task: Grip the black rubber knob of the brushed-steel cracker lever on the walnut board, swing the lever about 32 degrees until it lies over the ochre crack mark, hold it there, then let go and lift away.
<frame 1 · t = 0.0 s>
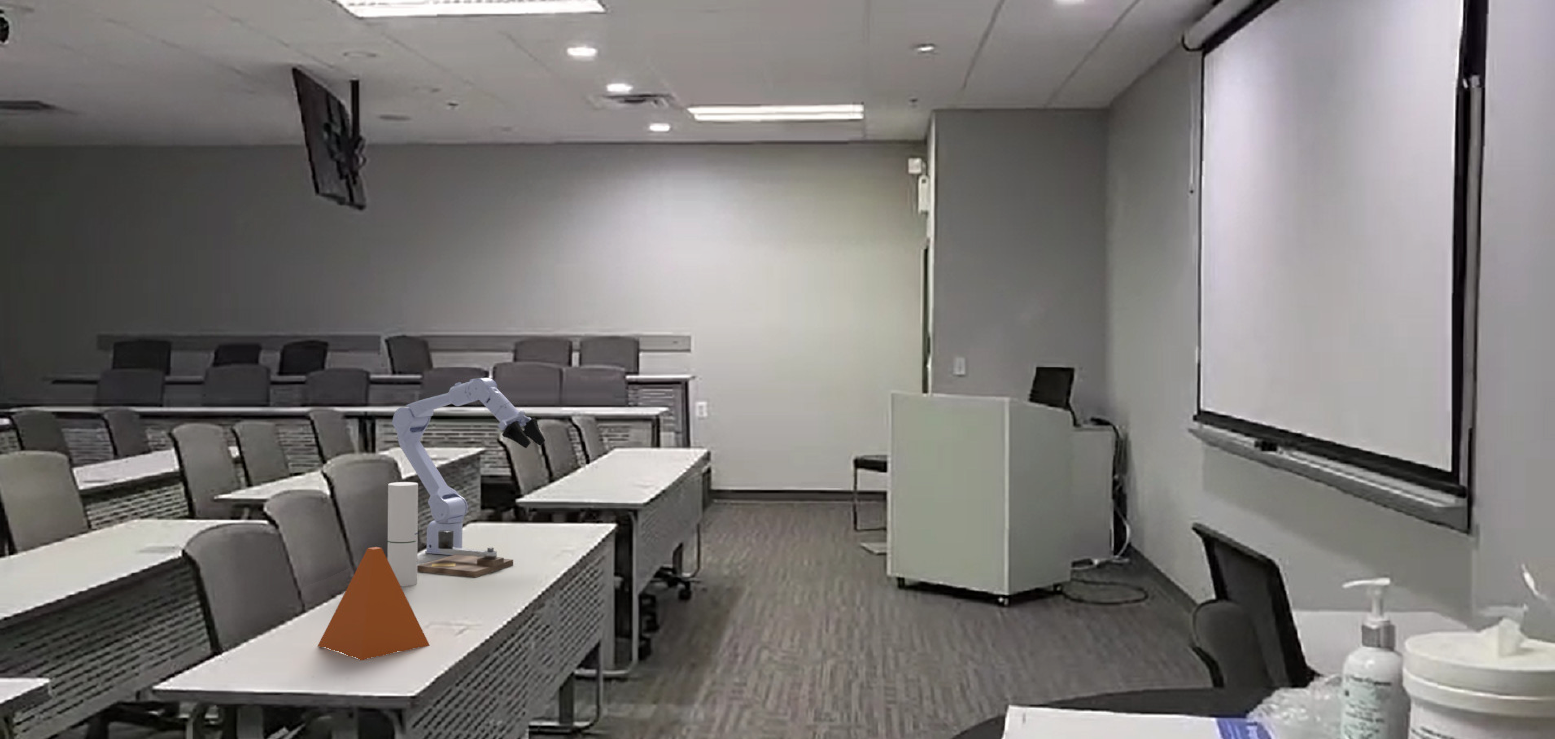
hand: (535, 444, 343), 32 cm above the table, tool tilted 50°, fingers open, 7 cm apart
cracker board: (465, 568, 332), on the table
lever: (467, 544, 333), point 6 cm above the table, hinge at 0.0°
cylindrical container: (402, 584, 312), on the table
pyramid: (373, 647, 252), on the table
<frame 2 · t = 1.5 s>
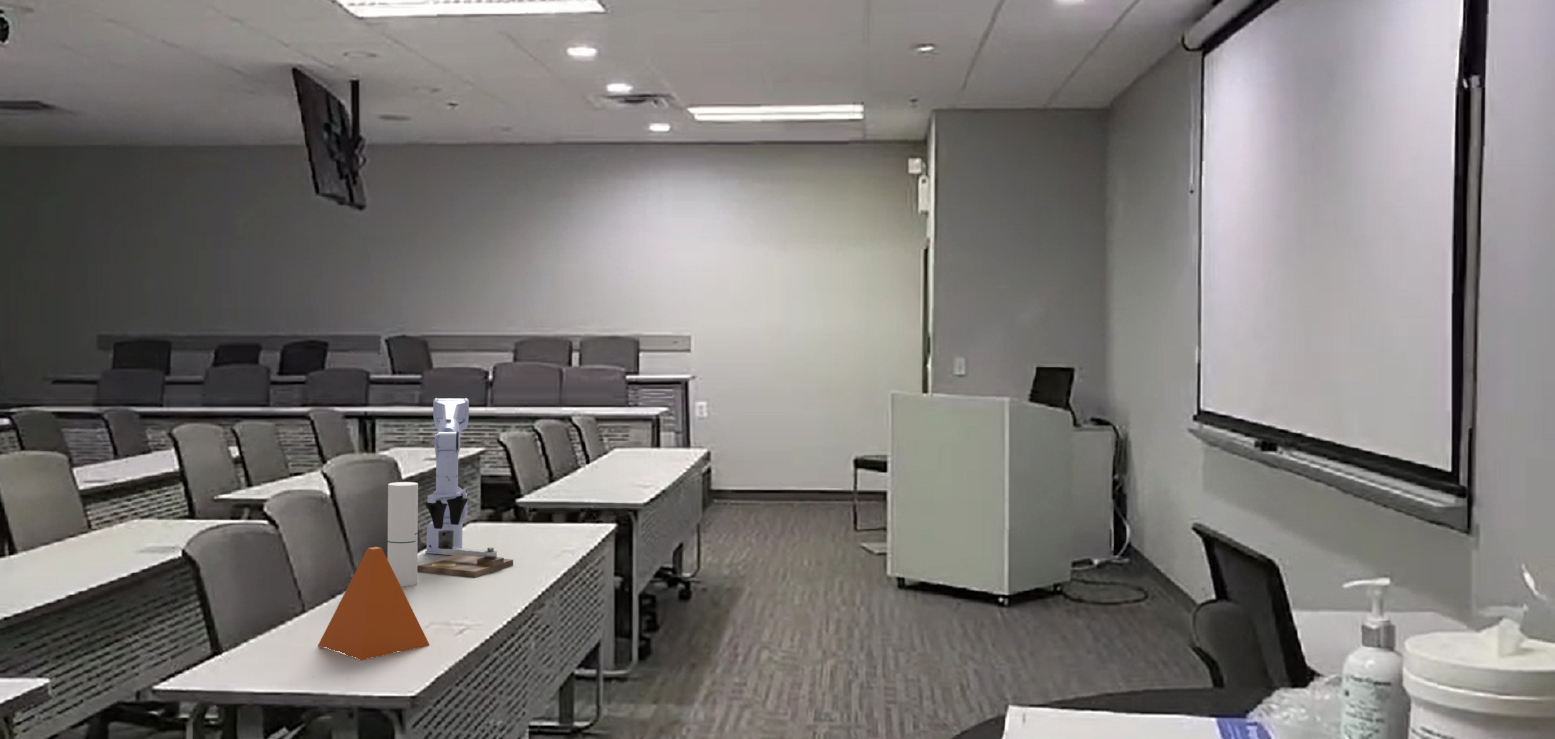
hand: (446, 526, 335), 11 cm above the table, tool pointing down, fingers open, 7 cm apart
nothing on the table moved.
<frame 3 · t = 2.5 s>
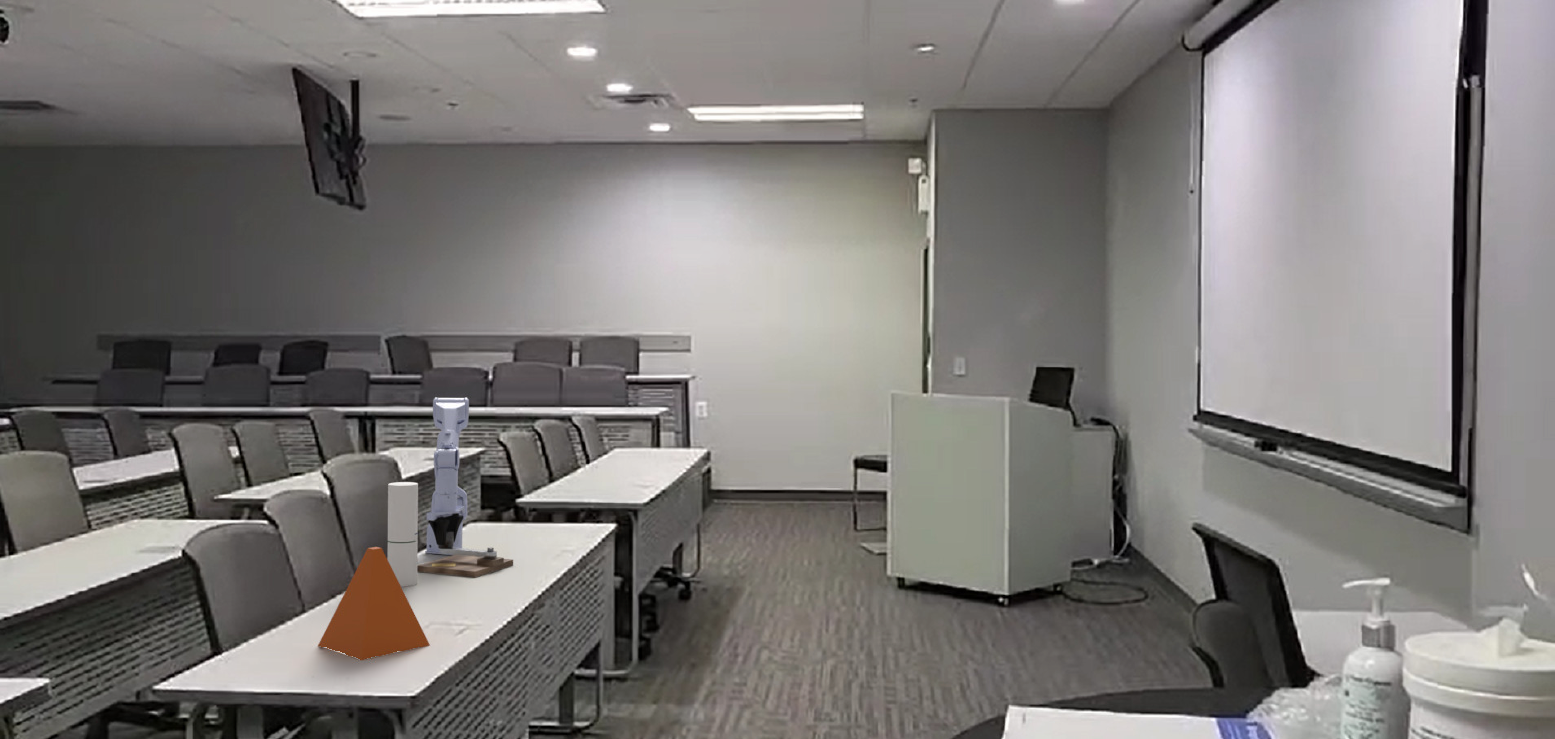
hand: (445, 543, 335), 6 cm above the table, tool pointing down, fingers closed on lever, 4 cm apart
lever: (467, 544, 333), point 6 cm above the table, hinge at 0.0°, touching gripper
everything else where it was.
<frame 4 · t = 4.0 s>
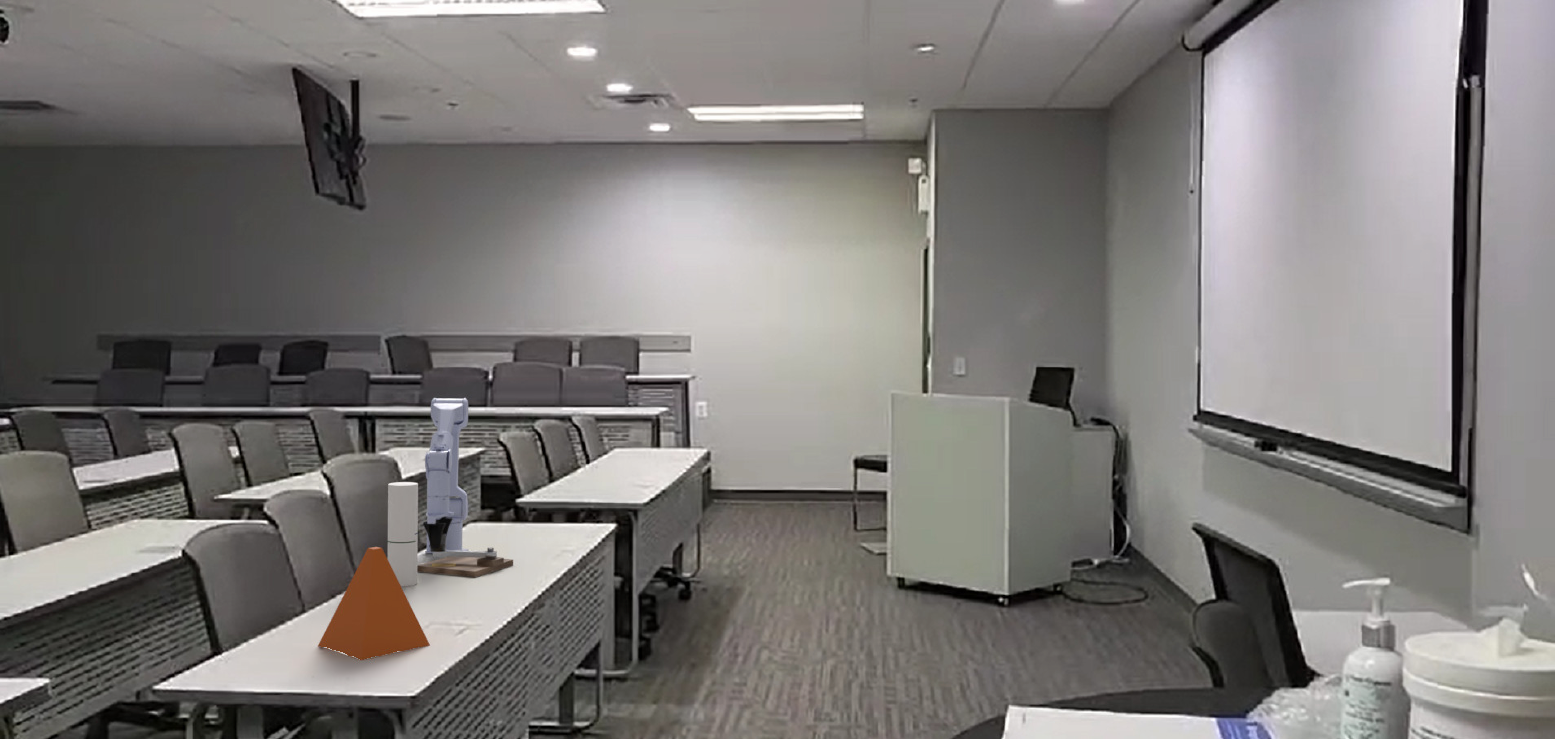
hand: (437, 546, 330), 6 cm above the table, tool pointing down, fingers open, 5 cm apart
lever: (463, 545, 331), point 6 cm above the table, hinge at 18.9°, touching gripper
everything else where it was.
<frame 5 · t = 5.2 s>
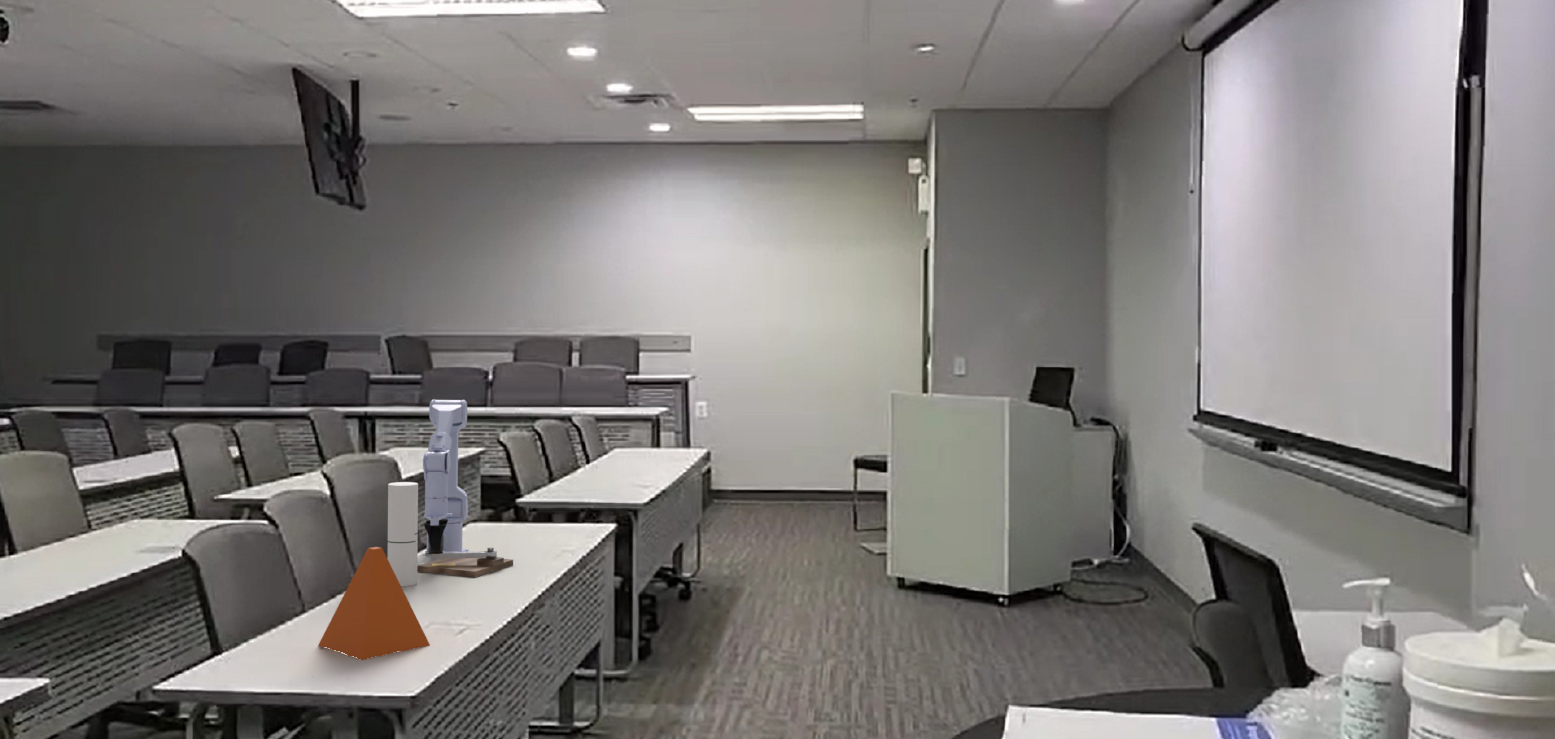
hand: (435, 548, 328), 6 cm above the table, tool pointing down, fingers open, 4 cm apart
lever: (462, 546, 329), point 6 cm above the table, hinge at 31.3°, touching gripper
everything else where it was.
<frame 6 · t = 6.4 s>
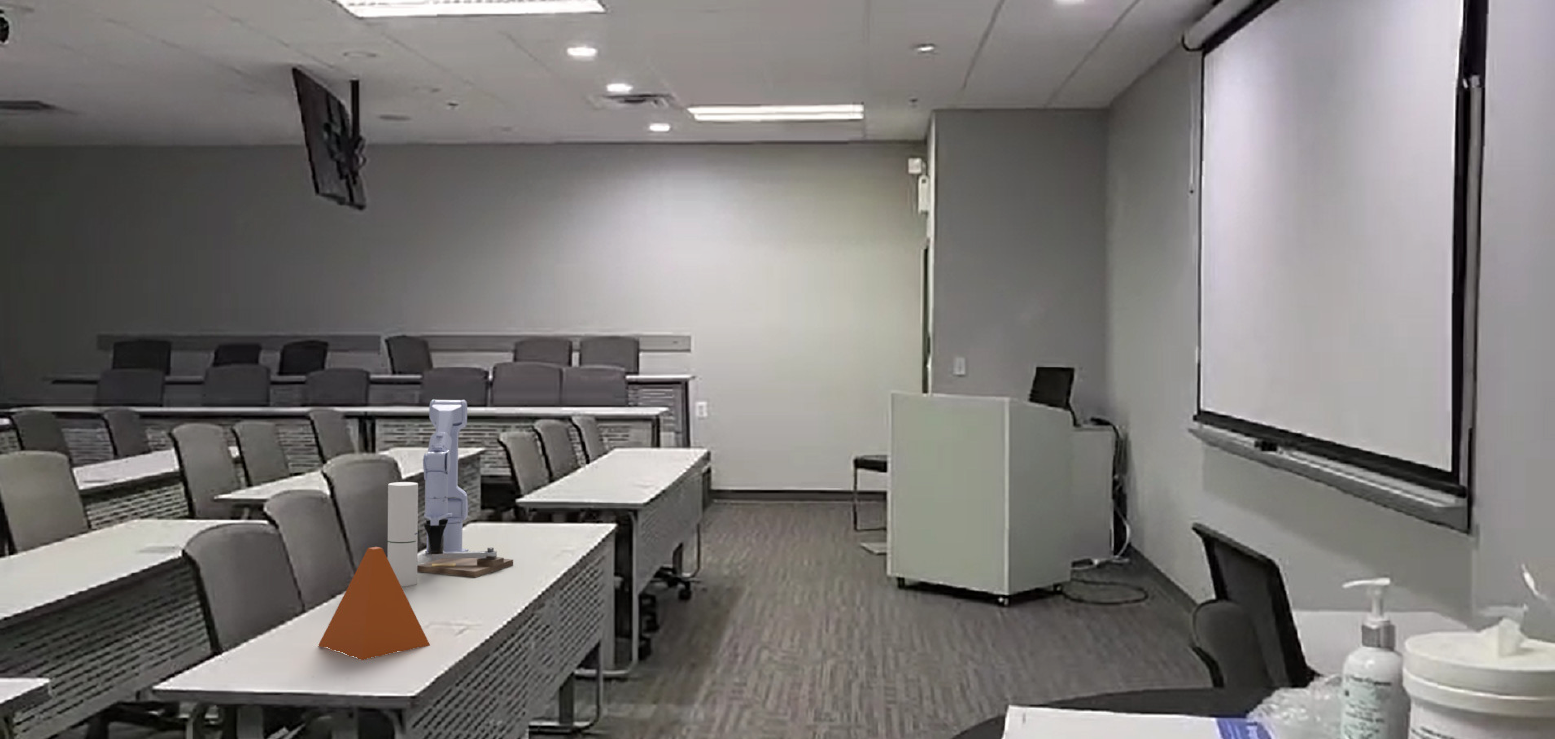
hand: (435, 548, 328), 6 cm above the table, tool pointing down, fingers open, 5 cm apart
lever: (462, 546, 329), point 6 cm above the table, hinge at 32.0°
everything else where it was.
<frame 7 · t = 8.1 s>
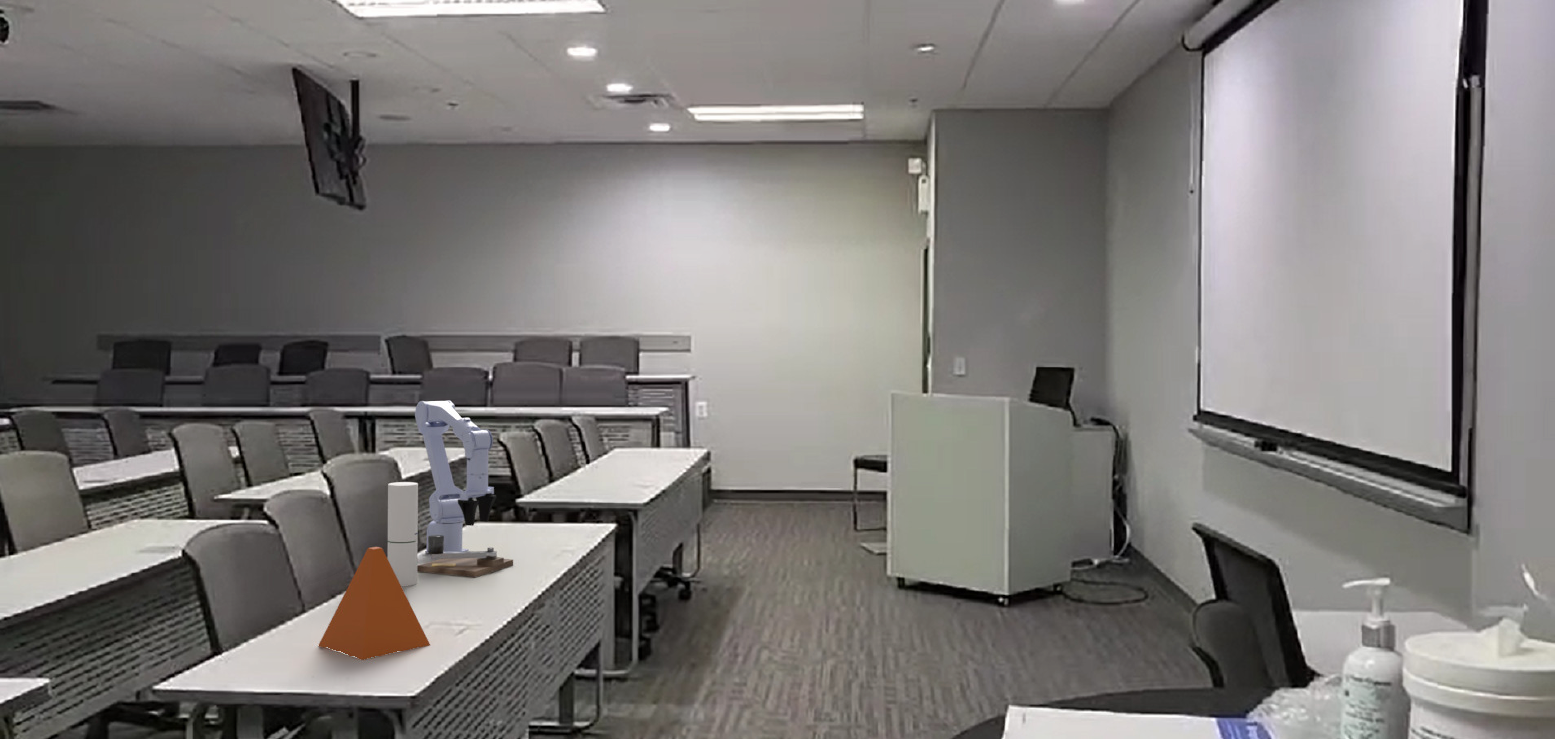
hand: (477, 523, 342), 10 cm above the table, tool pointing down, fingers open, 7 cm apart
nothing on the table moved.
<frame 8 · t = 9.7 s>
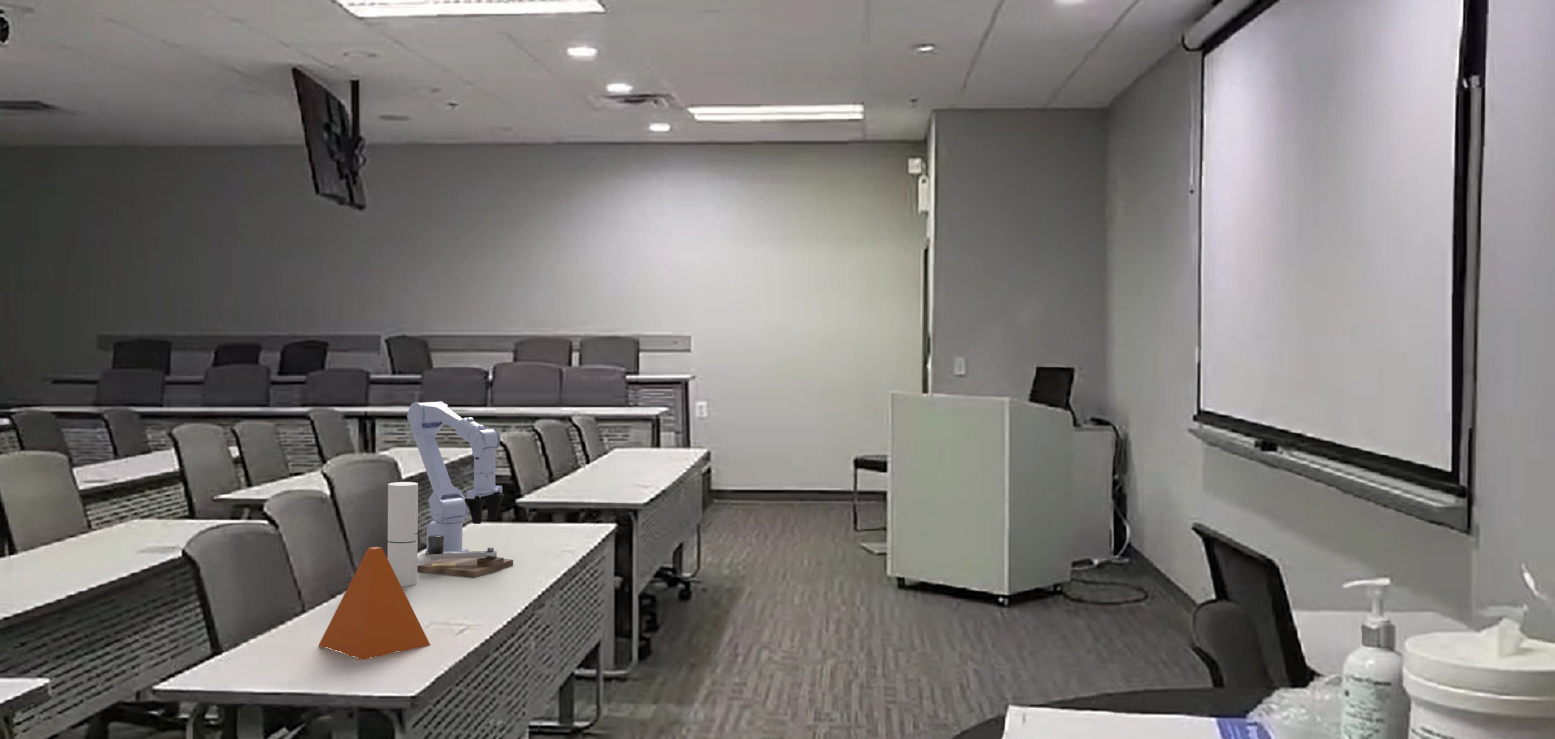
hand: (484, 521, 345), 10 cm above the table, tool pointing down, fingers open, 7 cm apart
nothing on the table moved.
at the end: lever at +32° (first picture: +0°); the gripper is holding nothing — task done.
